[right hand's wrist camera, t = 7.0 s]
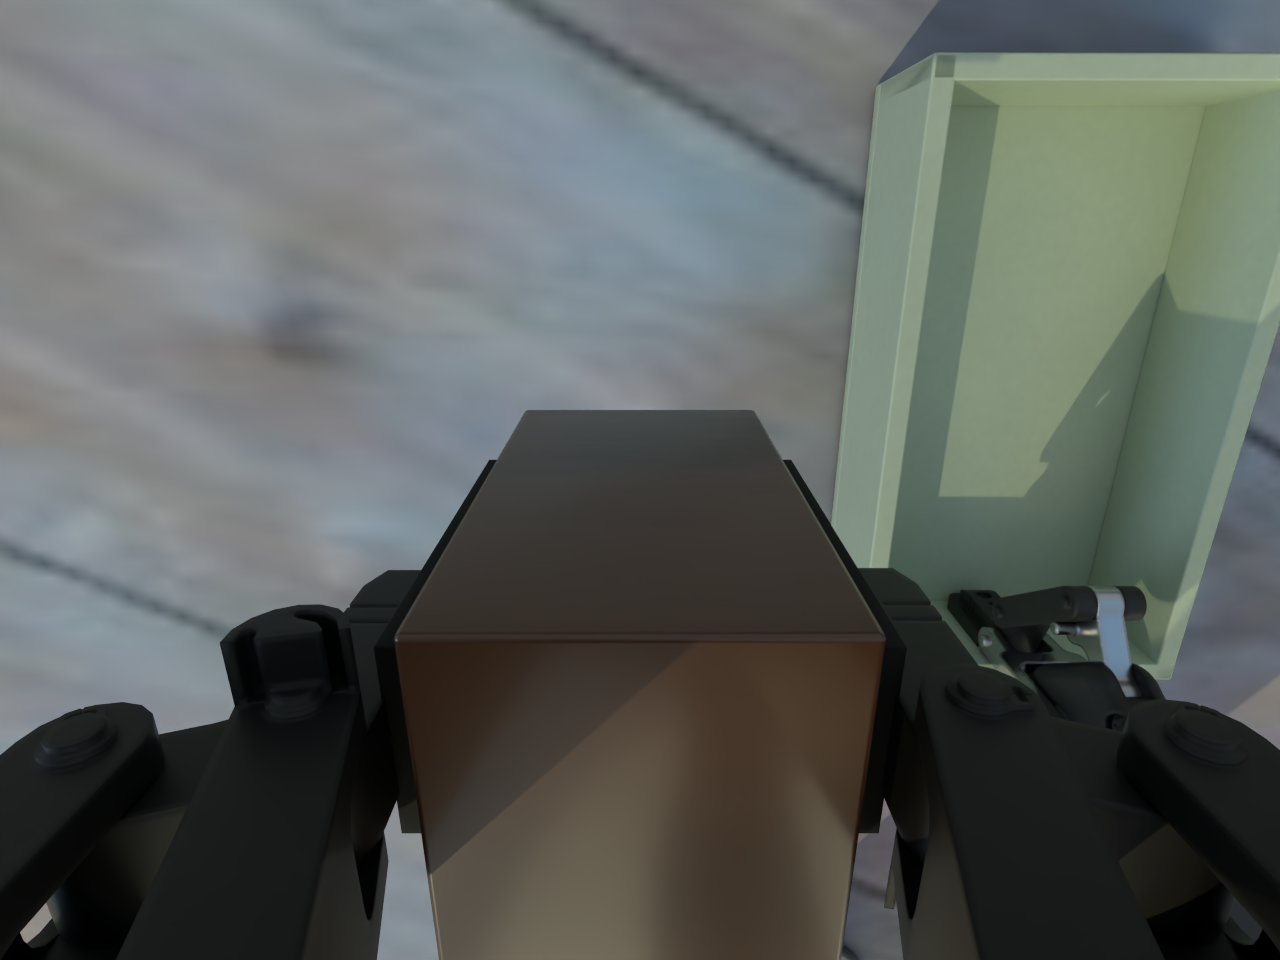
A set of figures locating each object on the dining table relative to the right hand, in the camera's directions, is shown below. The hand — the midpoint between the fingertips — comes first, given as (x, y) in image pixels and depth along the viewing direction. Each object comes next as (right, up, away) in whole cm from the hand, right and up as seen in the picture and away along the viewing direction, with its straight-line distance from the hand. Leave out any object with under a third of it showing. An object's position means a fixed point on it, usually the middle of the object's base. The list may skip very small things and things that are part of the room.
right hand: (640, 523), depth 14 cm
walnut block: (0, 0, 0) cm, 0 cm away
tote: (+16, +5, +18) cm, 25 cm away
